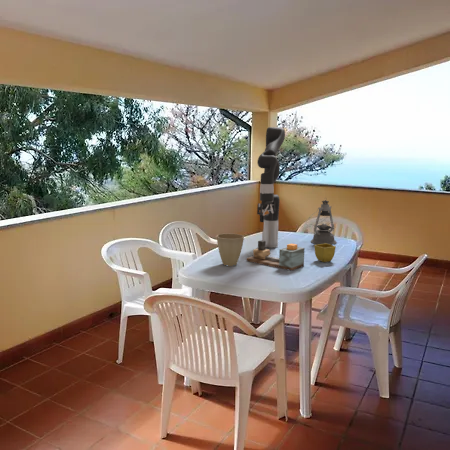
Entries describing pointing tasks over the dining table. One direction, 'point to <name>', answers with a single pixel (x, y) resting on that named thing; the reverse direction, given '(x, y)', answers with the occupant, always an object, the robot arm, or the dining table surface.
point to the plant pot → (230, 248)
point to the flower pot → (324, 252)
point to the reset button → (292, 246)
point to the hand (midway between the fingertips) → (266, 221)
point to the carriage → (261, 250)
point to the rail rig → (283, 259)
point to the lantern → (323, 226)
